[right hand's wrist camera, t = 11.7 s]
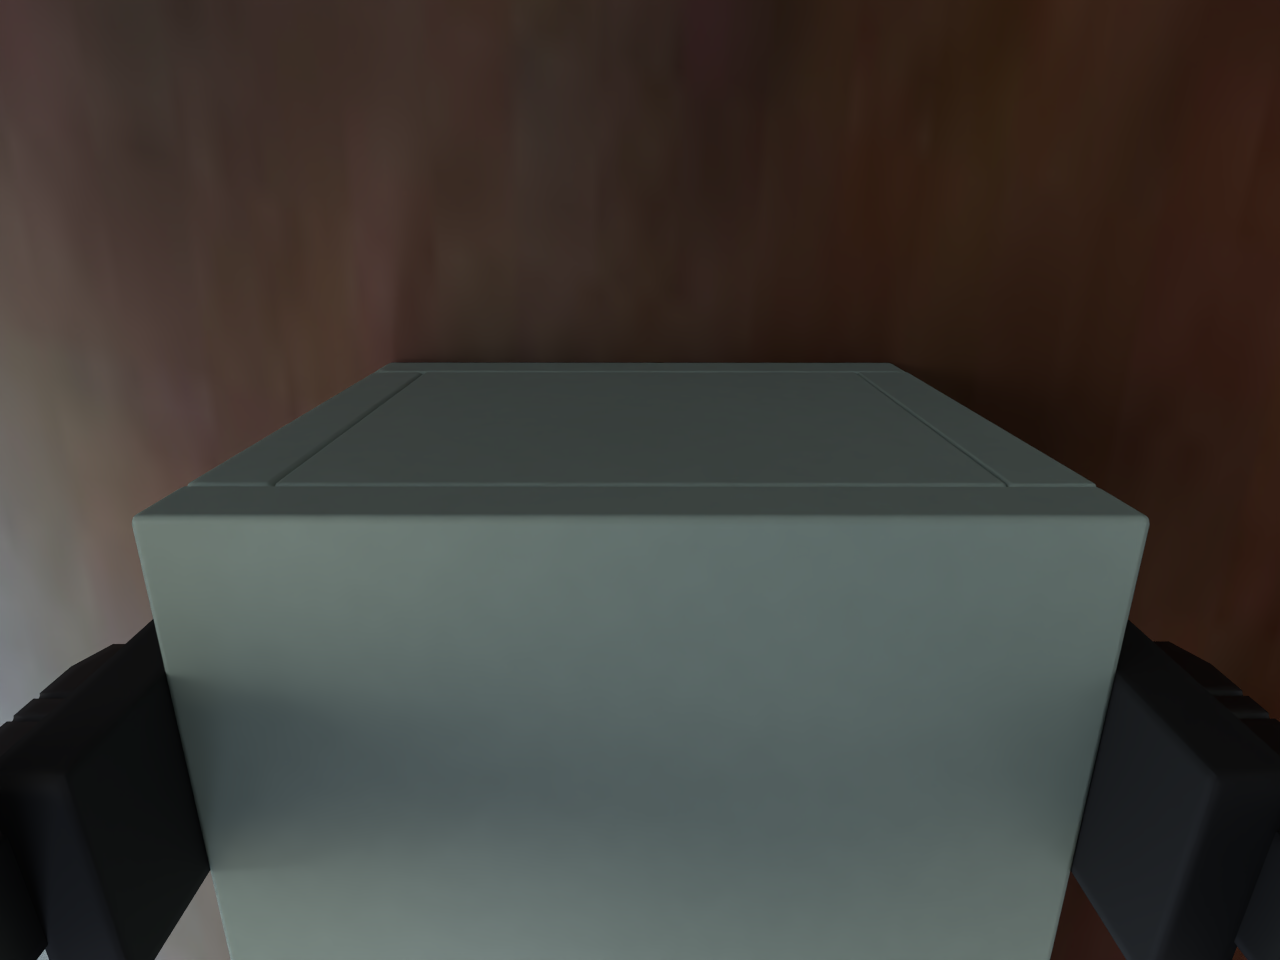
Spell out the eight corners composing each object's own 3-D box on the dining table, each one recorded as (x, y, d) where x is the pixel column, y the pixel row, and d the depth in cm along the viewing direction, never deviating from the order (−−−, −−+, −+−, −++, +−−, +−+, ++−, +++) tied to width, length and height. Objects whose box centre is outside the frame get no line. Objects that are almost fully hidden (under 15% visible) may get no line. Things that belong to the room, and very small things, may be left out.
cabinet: (814, 1091, 23) (911, 1574, 15) (464, 1091, 23) (368, 1573, 15) (892, 362, 16) (1155, 517, 8) (388, 361, 16) (126, 516, 8)
